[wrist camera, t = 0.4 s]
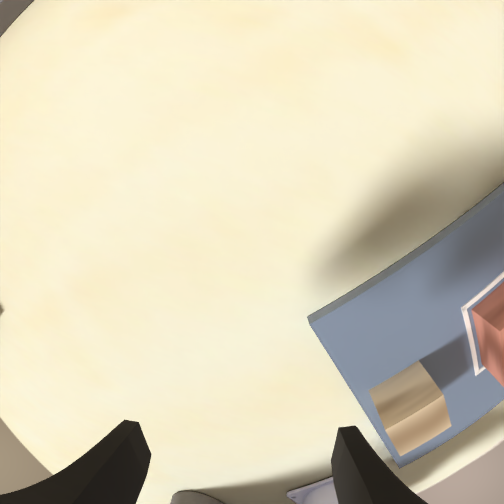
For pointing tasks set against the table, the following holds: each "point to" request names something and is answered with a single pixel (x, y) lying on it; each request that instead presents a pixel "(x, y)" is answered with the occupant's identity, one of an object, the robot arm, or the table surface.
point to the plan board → (424, 322)
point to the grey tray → (11, 12)
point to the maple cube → (411, 408)
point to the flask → (193, 498)
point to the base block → (491, 332)
